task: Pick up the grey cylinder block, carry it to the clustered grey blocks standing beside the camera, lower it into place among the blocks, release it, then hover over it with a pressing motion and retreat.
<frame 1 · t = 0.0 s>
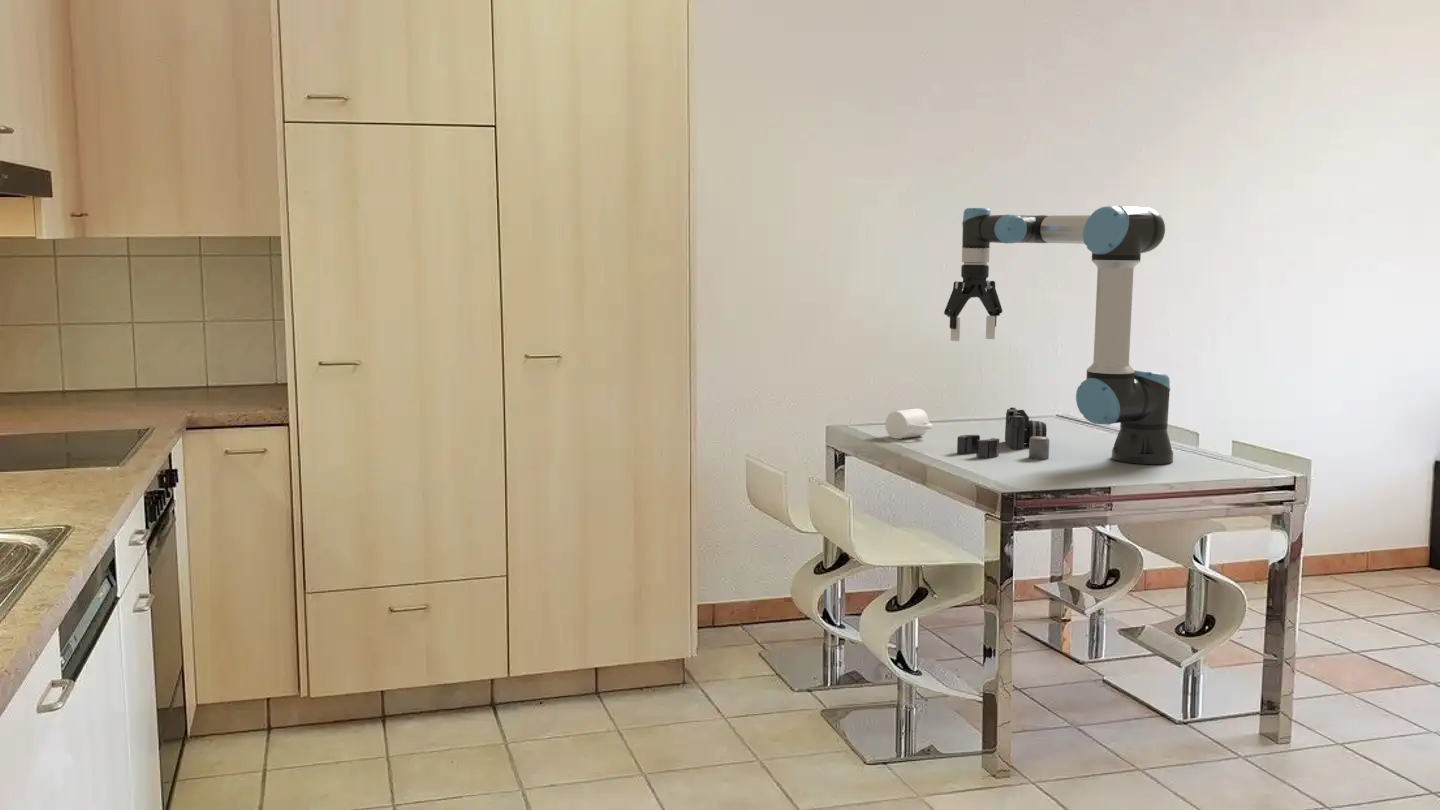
hand: (972, 339, 373), 28 cm above the table, fingers open, 13 cm apart
clustered grey blocks: (977, 454, 349), on the table
grey cylinder block: (1038, 458, 345), on the table
mug: (912, 439, 376), on the table
camera: (1025, 446, 365), on the table
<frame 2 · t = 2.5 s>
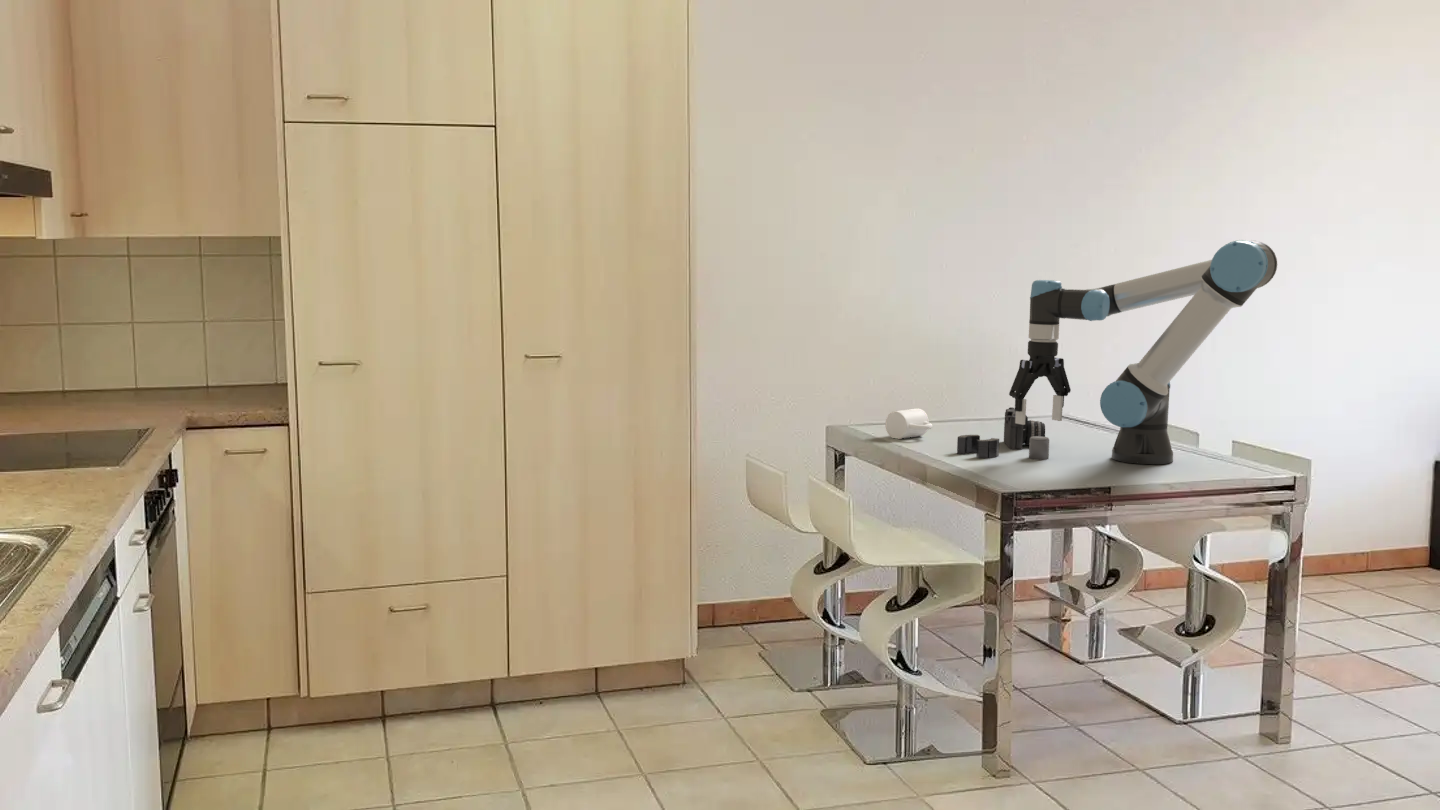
hand: (1038, 422, 344), 9 cm above the table, fingers open, 13 cm apart
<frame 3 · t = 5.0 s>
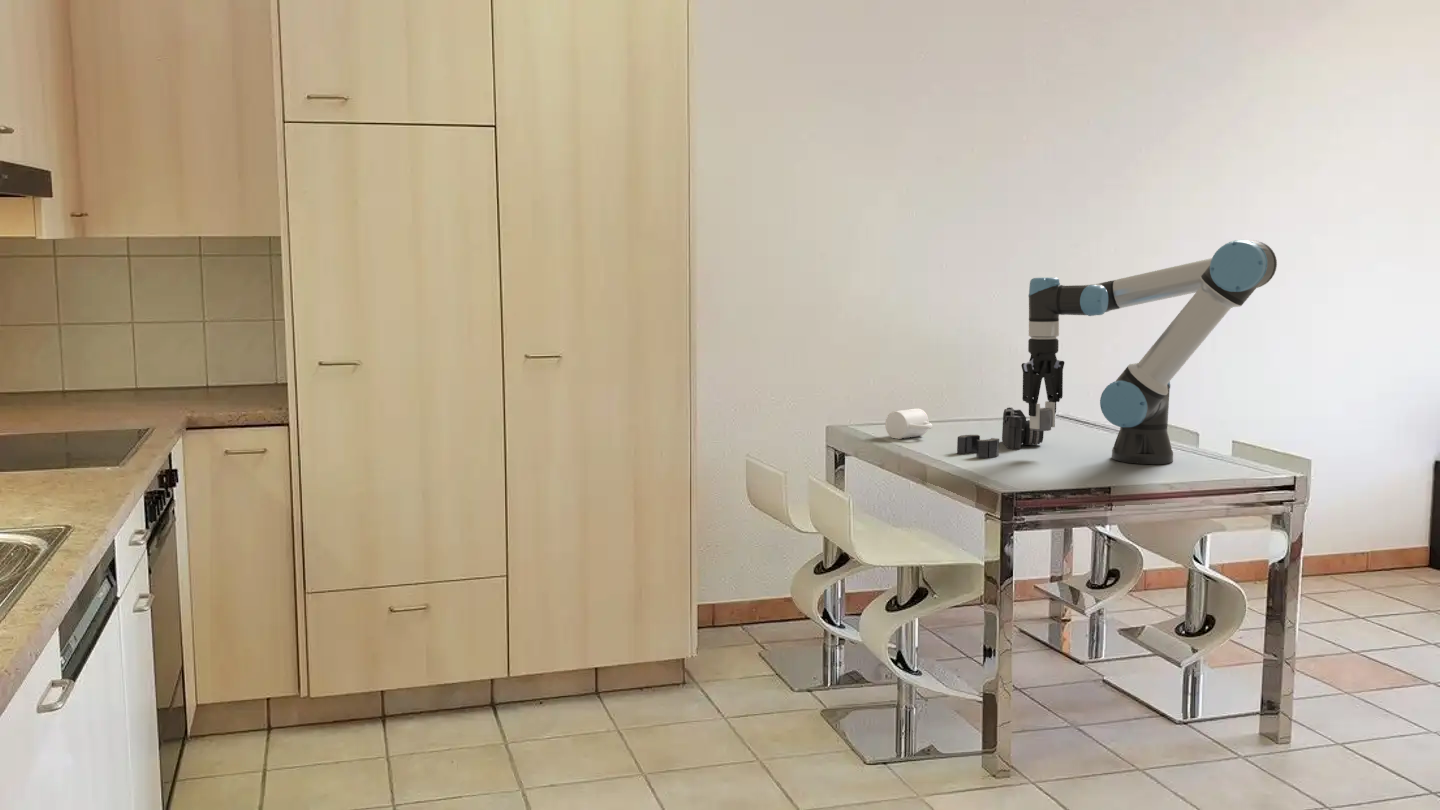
hand: (1042, 427, 343), 8 cm above the table, fingers closed on grey cylinder block, 5 cm apart
grey cylinder block: (1041, 429, 344), point 8 cm above the table, touching gripper
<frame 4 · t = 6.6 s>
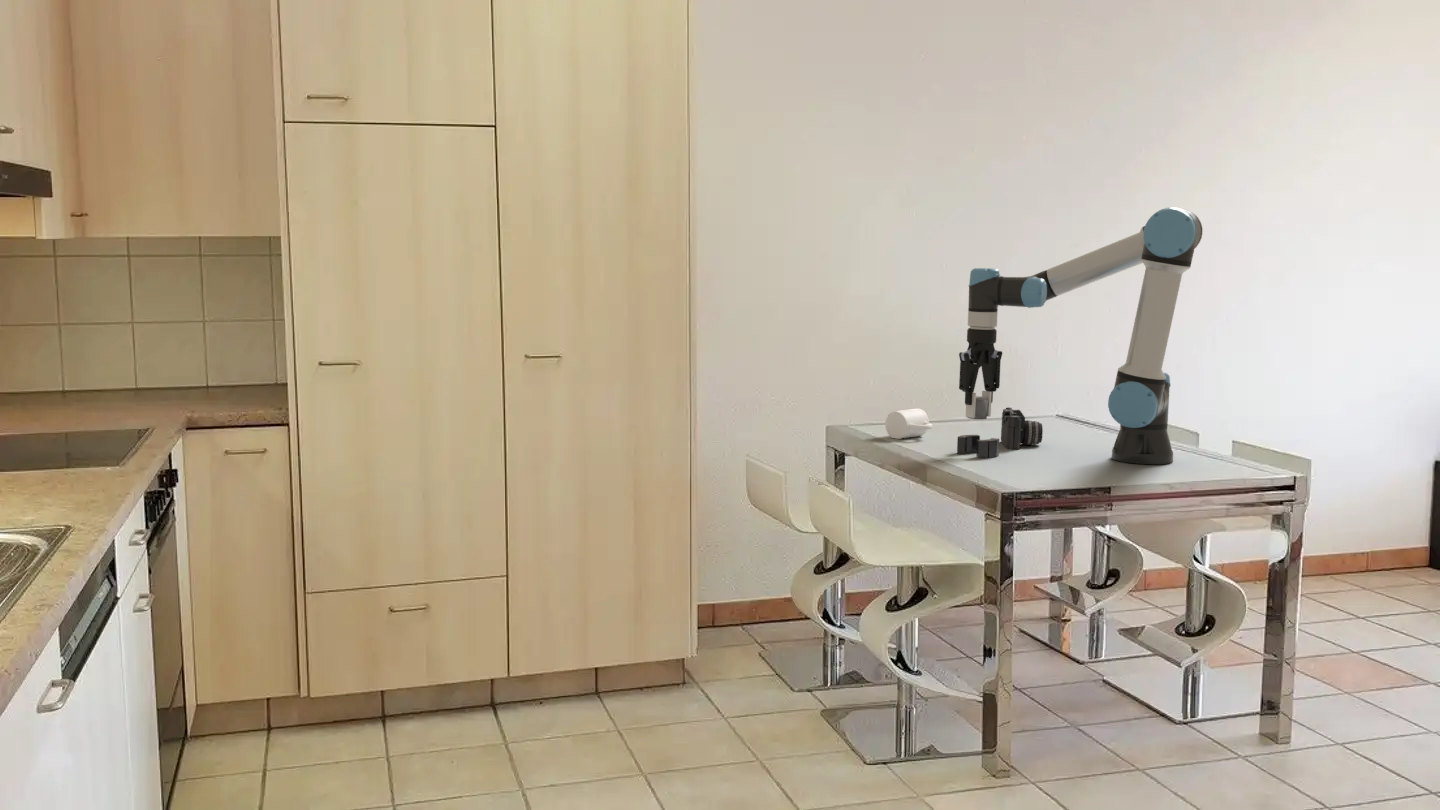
hand: (978, 416, 348), 10 cm above the table, fingers closed on grey cylinder block, 5 cm apart
grey cylinder block: (976, 417, 348), point 10 cm above the table, touching gripper
when the fingers open (1 cm above the table, at t = 8.3 s): grey cylinder block stays where it is, on the table.
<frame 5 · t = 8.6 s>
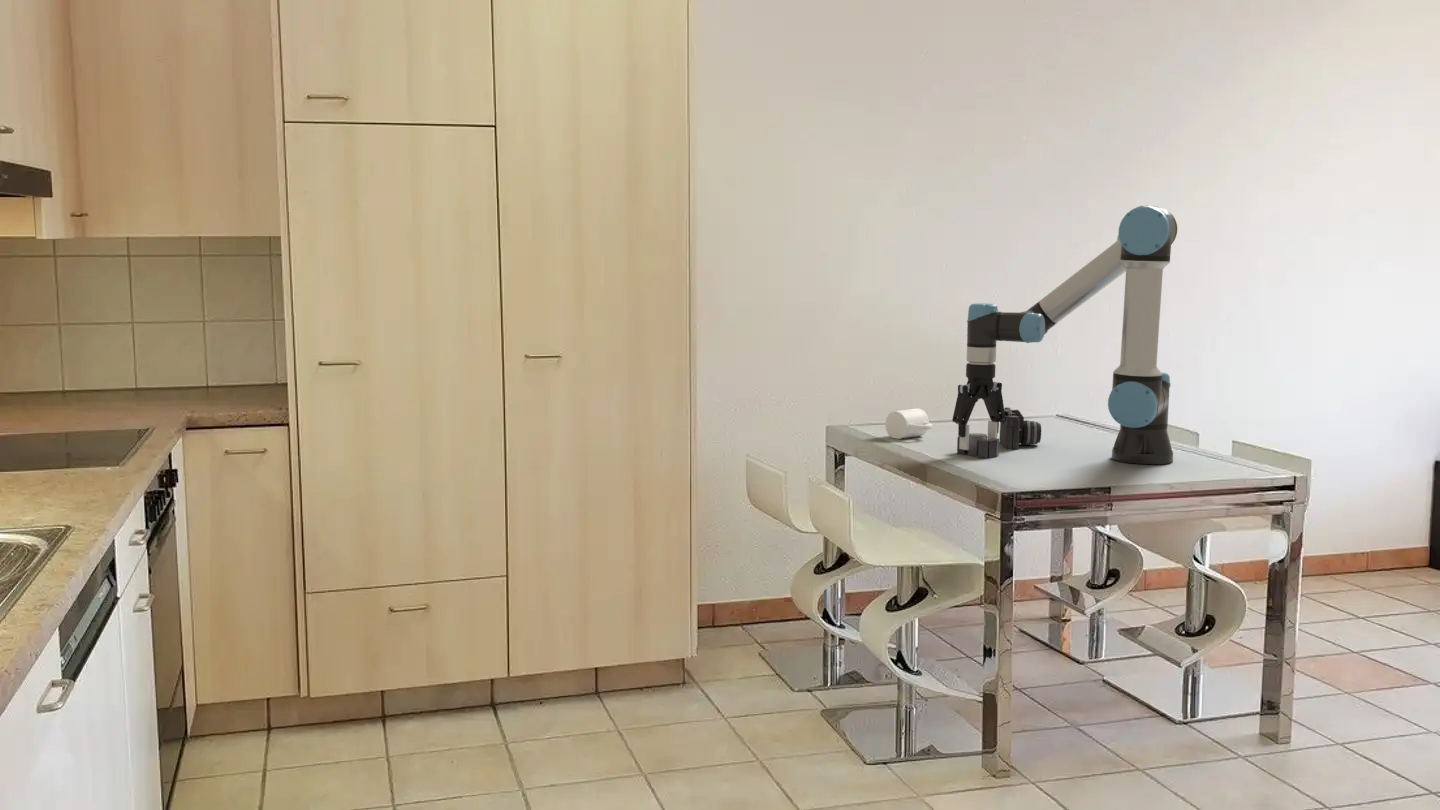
hand: (978, 447, 349), 2 cm above the table, fingers open, 9 cm apart
grey cylinder block: (977, 454, 349), on the table
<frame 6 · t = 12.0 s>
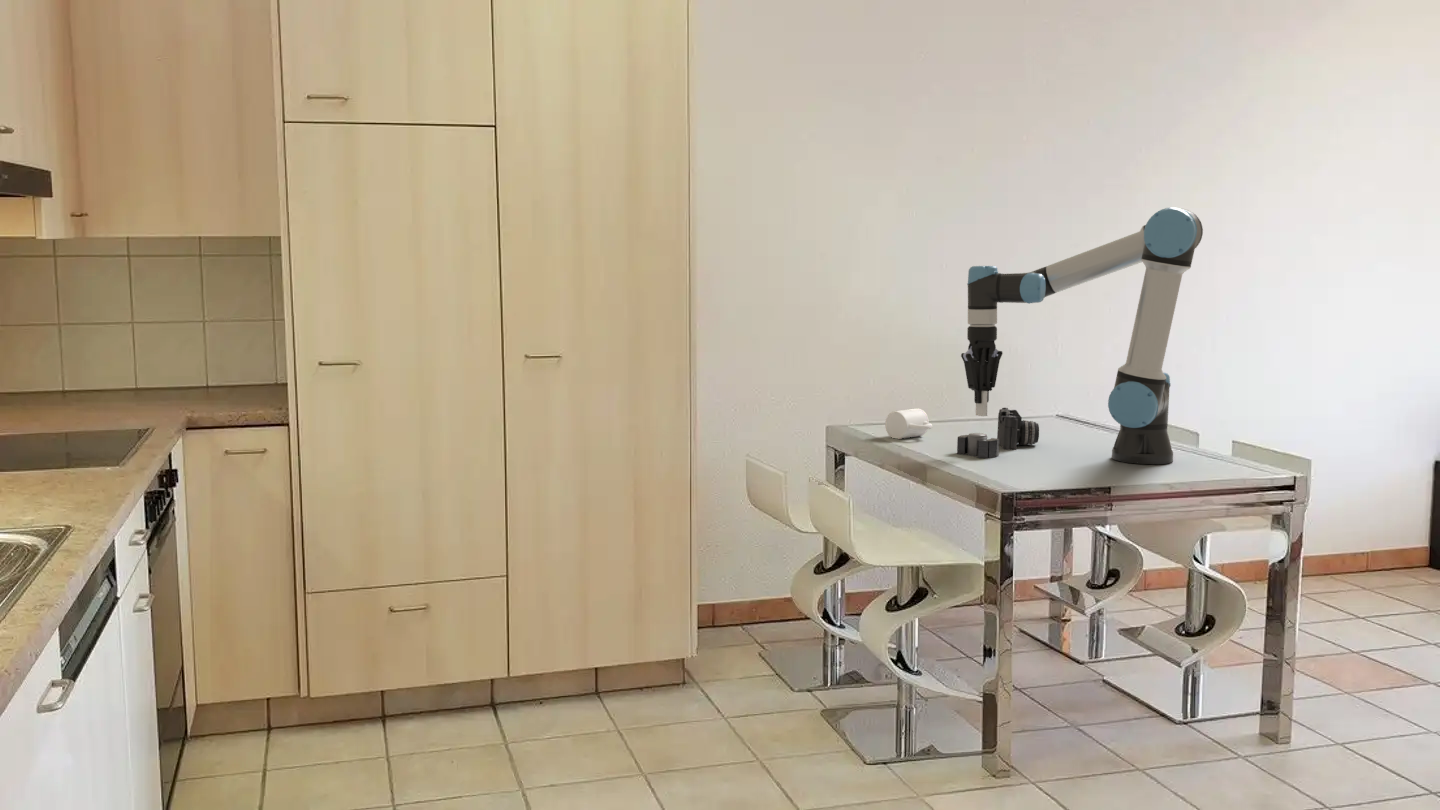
hand: (981, 415, 347), 10 cm above the table, fingers closed
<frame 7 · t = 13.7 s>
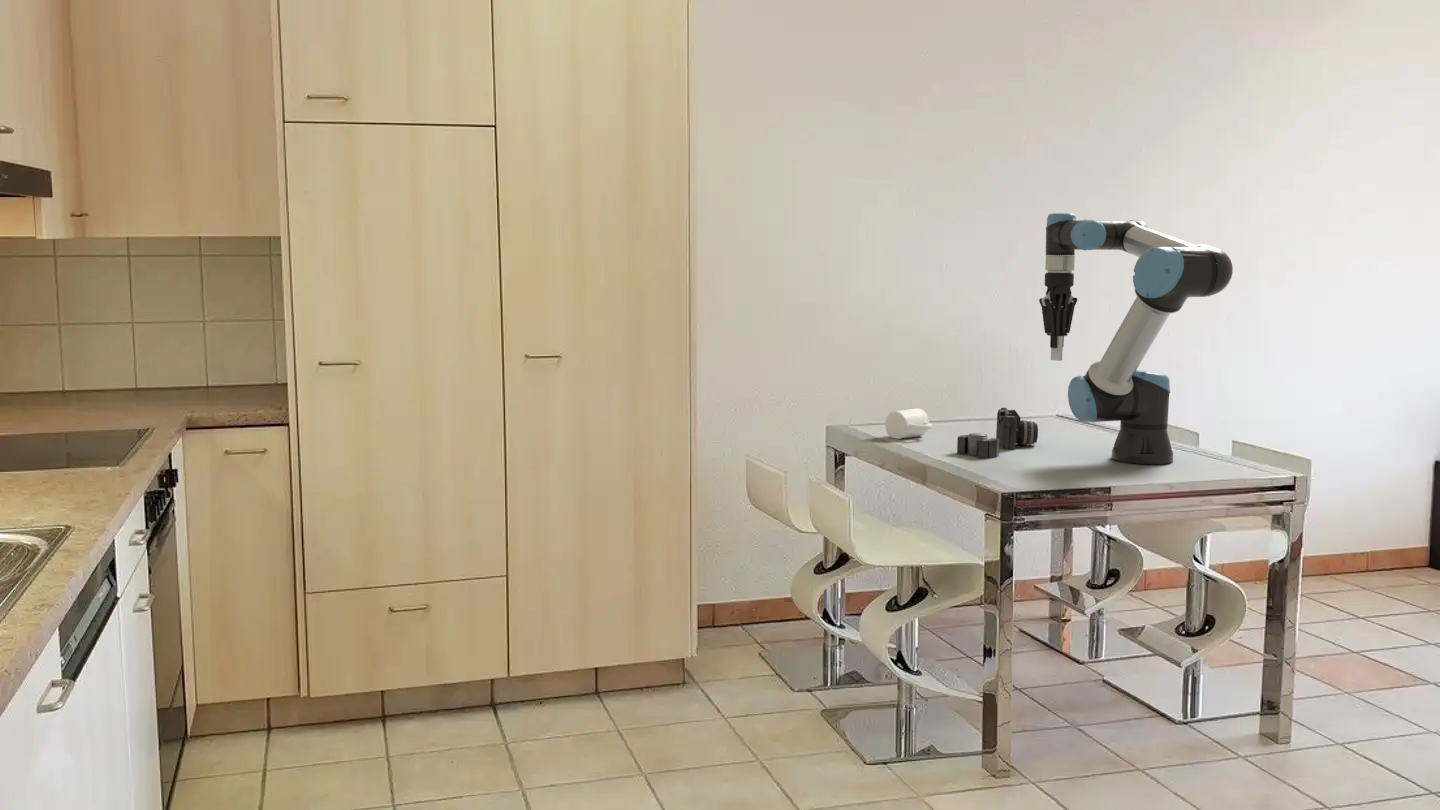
hand: (1056, 360, 356), 24 cm above the table, fingers closed
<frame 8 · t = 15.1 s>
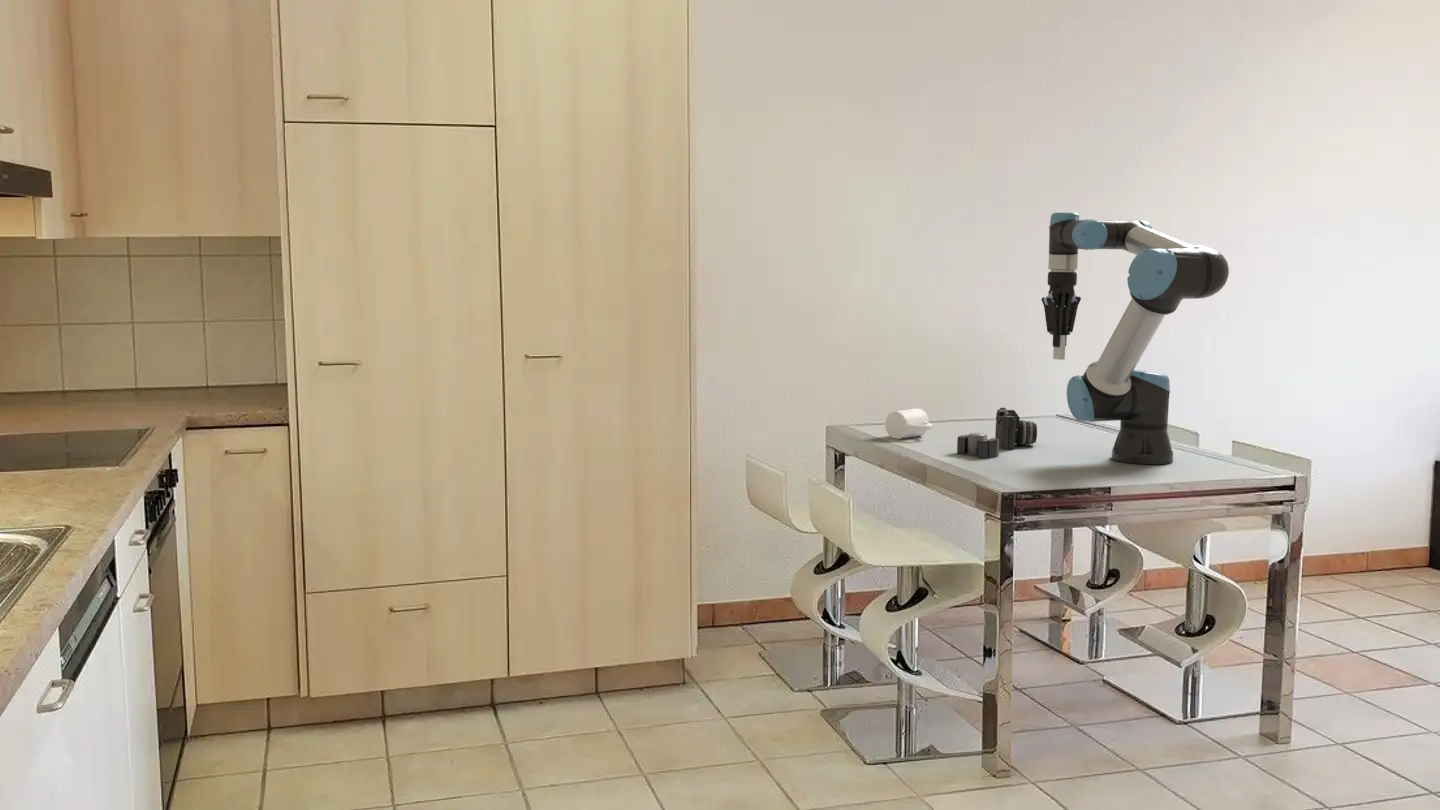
hand: (1058, 359, 356), 24 cm above the table, fingers closed
at the end: grey cylinder block 0.4 cm off-centre on the clustered grey blocks, point 0.0 cm above the clustered grey blocks's base; grey cylinder block tilted 1°; the gripper is holding nothing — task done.
